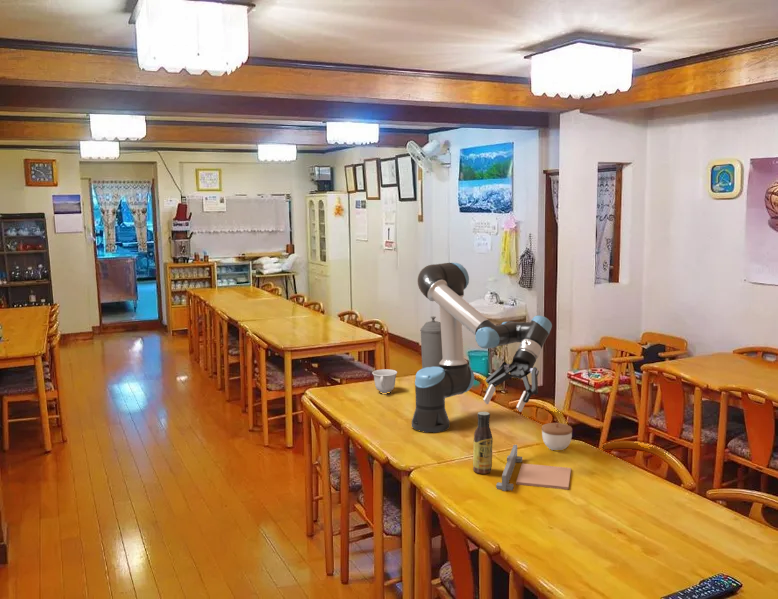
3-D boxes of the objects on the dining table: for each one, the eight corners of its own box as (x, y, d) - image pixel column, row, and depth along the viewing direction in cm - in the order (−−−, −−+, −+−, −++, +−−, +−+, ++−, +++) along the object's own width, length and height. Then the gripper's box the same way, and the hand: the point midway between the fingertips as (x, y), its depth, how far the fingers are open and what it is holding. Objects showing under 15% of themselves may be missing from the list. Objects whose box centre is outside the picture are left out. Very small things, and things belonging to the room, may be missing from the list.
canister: (448, 384, 336) (447, 314, 331) (445, 391, 324) (445, 318, 319) (422, 383, 338) (421, 314, 333) (419, 390, 326) (418, 318, 321)
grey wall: (495, 490, 211) (495, 474, 211) (508, 457, 238) (508, 444, 237) (512, 491, 210) (512, 476, 209) (522, 459, 236) (522, 445, 235)
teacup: (369, 397, 316) (368, 376, 315) (375, 389, 331) (374, 368, 329) (394, 398, 314) (394, 377, 313) (399, 389, 329) (399, 369, 327)
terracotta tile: (516, 484, 215) (516, 481, 215) (522, 465, 230) (522, 463, 230) (568, 489, 210) (568, 487, 210) (570, 470, 226) (571, 468, 225)
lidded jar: (574, 445, 249) (574, 420, 247) (569, 455, 239) (569, 429, 238) (544, 441, 253) (545, 417, 252) (538, 451, 244) (538, 425, 242)
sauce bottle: (480, 476, 222) (479, 417, 219) (469, 469, 228) (468, 412, 225) (496, 472, 225) (496, 414, 222) (485, 466, 231) (485, 409, 228)
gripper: (493, 344, 246) (467, 393, 238) (553, 353, 229) (528, 406, 220) (501, 356, 251) (477, 404, 242) (562, 366, 233) (537, 418, 225)
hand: (501, 405), depth 231 cm, fingers open, 13 cm apart
